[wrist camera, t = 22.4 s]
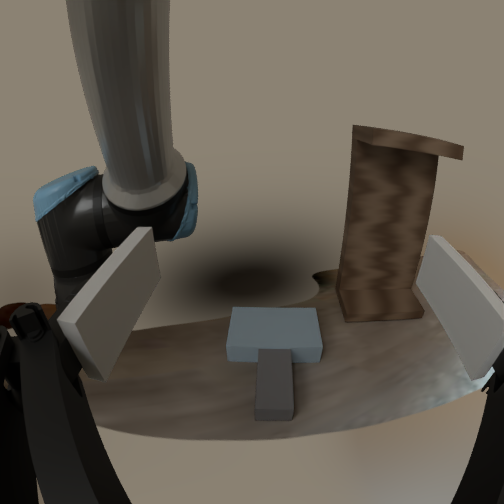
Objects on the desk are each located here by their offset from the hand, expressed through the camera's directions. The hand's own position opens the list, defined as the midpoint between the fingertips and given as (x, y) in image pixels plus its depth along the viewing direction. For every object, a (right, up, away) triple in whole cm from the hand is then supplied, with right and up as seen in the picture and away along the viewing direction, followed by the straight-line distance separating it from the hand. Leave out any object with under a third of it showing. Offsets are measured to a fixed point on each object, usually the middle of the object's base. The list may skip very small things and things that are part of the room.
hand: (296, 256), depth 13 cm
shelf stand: (+20, -9, +32) cm, 39 cm away
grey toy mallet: (+1, -14, +22) cm, 26 cm away
